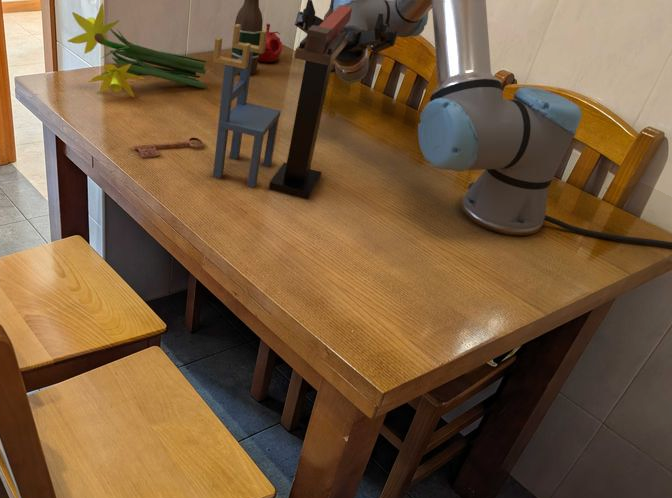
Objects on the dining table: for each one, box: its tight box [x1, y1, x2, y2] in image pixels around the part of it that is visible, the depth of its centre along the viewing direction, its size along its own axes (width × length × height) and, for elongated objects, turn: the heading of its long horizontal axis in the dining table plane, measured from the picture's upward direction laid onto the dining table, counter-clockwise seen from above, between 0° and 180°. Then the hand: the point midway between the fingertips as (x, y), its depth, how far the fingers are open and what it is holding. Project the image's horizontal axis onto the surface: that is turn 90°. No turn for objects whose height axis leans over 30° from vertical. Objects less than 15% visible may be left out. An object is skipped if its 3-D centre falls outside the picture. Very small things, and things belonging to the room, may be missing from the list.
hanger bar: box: [304, 5, 352, 54], centre depth 113 cm, size 24×3×3 cm, turn 159°
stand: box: [268, 31, 348, 200], centre depth 119 cm, size 14×8×27 cm, turn 159°
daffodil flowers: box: [67, 3, 208, 98], centre depth 153 cm, size 17×15×35 cm
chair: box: [212, 24, 282, 188], centre depth 122 cm, size 12×11×25 cm
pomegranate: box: [258, 23, 283, 63], centre depth 182 cm, size 10×10×9 cm
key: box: [133, 137, 204, 159], centre depth 134 cm, size 6×1×15 cm
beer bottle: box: [230, 0, 264, 76], centre depth 168 cm, size 8×8×24 cm
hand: (342, 14), depth 121 cm, fingers open, 13 cm apart
